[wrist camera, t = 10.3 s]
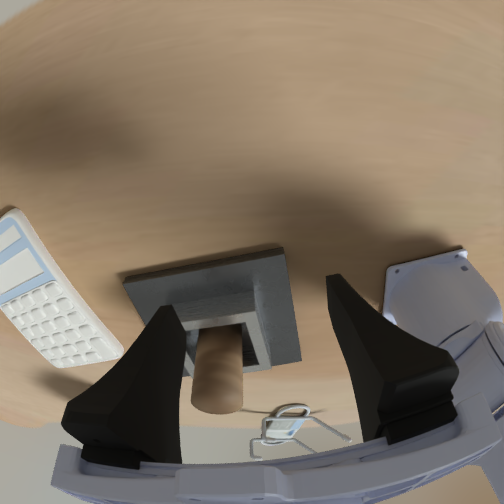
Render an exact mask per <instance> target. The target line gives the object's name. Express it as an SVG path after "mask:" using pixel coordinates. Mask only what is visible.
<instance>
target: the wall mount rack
mask: <svg viewBox="0 0 504 504" xmlns="http://www.w3.org/2000/svg"><path fill="white" fill-rule="evenodd" d="M294 408H303V409H306V410H307V411H306V413H305V414H304V416H281V415H280V414H281V413H283V412H284V411H287V410H290V409H294ZM309 413H310V408H309V407H308V406H306V405H291V406H287V407H284V408H282V409H281V410H279V411H278V412H277V414H276V415H275V416H273V417H265V418H263V420H262V434H261V438H256V439H255V438H254V439H251V440H250V456H251V458H253V459H254V460H259V461H261V460H262V459H263V458H262V457H260V456H254V455H253V442H254V441H260V443H261V444H263V445H269V446H273V445H280V444H283V443H285V442H287V441H294V442H296V443H297V444H299V445H301V446H302V447H304V448H305V449H307V450H308V451H310V452H311V453H313V454H314V453H317V452H315V451H314V450H312V449H311V448H309V447H308V446H306V445H305V444H303V443H302V442H300V441H298V440H297V439H294V438H292V436H293V435H294V434H295V433H296V431H297V430H298V429H299V428H300V426H301V425H302V424H303V422H304V421H305V420H313V421H315V422H317V423H318V424H320V425H321V426H323V427H325V428H326V429H328V430H330V431H332V432H333V433H335V434H336V435H338V436H340V437H341V438H342V439H343V440H345V441H347V442H351V441H352V439H351V438H350V437H348V436H347V435H344V434H342V433H340V432H338V431H337V430H335V429H333V428H332V427H330V426H328V425H327V424H325V423H323V422H322V421H320V420H318V419H317V418H315V417H312V416H308V415H309ZM268 420H271V421H270V422H269V424H268V425H267V427H266V421H268ZM264 441H266V442H264ZM276 441H280V442H276ZM267 442H271V443H267Z"/></svg>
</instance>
